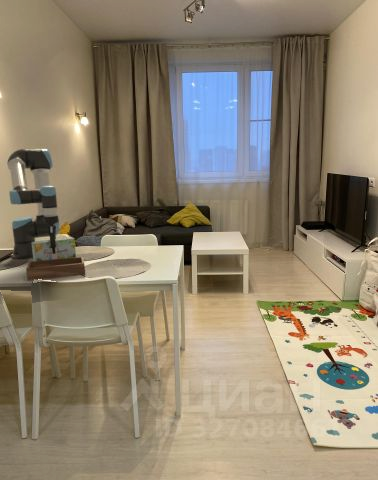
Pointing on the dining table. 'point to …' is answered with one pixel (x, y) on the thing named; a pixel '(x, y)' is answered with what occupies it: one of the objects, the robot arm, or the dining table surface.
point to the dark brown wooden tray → (55, 268)
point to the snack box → (62, 245)
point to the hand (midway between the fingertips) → (54, 257)
